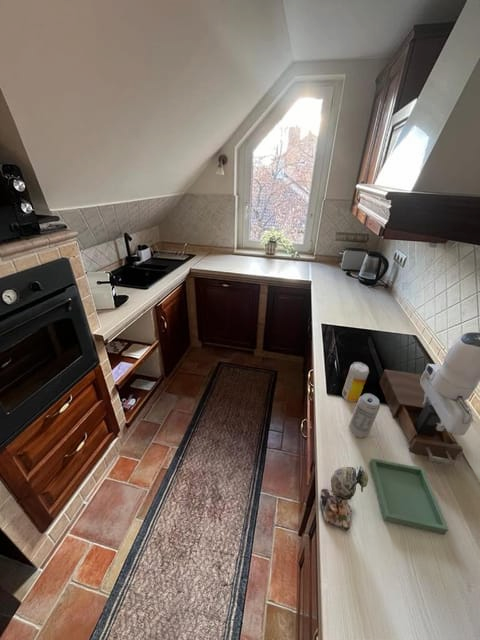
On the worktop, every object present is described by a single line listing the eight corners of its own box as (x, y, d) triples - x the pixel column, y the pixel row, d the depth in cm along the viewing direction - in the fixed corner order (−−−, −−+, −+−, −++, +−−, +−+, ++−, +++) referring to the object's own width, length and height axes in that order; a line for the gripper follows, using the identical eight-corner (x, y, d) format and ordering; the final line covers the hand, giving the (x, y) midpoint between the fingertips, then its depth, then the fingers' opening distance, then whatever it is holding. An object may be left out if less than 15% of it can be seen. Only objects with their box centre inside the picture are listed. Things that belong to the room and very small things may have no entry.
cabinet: (435, 424, 87) (444, 410, 83) (392, 417, 89) (399, 403, 85) (415, 387, 102) (422, 374, 98) (379, 382, 104) (384, 369, 100)
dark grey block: (429, 429, 83) (443, 406, 77) (433, 438, 80) (449, 414, 74) (412, 426, 84) (425, 403, 78) (416, 435, 81) (430, 411, 75)
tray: (419, 472, 73) (422, 468, 71) (444, 534, 60) (448, 530, 59) (369, 463, 75) (371, 458, 73) (383, 520, 62) (386, 516, 61)
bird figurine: (355, 492, 68) (377, 447, 58) (348, 537, 59) (373, 494, 49) (324, 476, 71) (340, 431, 61) (313, 517, 63) (330, 473, 52)
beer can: (362, 400, 95) (373, 370, 88) (349, 405, 93) (360, 374, 86) (350, 389, 100) (360, 359, 92) (338, 393, 98) (347, 363, 90)
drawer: (462, 474, 72) (471, 464, 69) (414, 465, 73) (422, 454, 71) (430, 415, 89) (436, 404, 86) (392, 408, 91) (397, 398, 88)
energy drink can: (371, 432, 84) (385, 400, 76) (361, 442, 80) (375, 410, 73) (354, 420, 88) (366, 388, 80) (344, 429, 84) (356, 398, 77)
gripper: (488, 416, 62) (461, 450, 69) (446, 363, 79) (428, 394, 86) (459, 412, 63) (436, 446, 70) (424, 360, 80) (408, 391, 87)
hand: (431, 417), depth 78 cm, fingers open, 7 cm apart
